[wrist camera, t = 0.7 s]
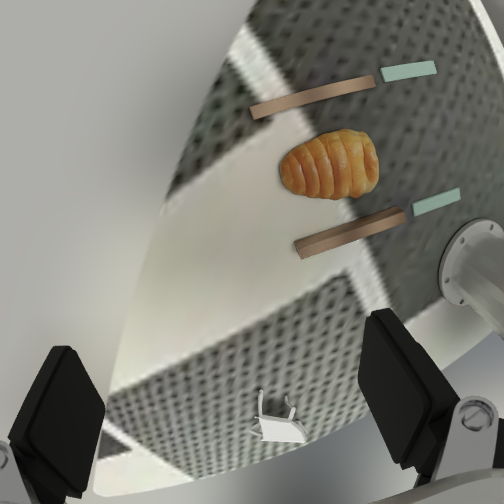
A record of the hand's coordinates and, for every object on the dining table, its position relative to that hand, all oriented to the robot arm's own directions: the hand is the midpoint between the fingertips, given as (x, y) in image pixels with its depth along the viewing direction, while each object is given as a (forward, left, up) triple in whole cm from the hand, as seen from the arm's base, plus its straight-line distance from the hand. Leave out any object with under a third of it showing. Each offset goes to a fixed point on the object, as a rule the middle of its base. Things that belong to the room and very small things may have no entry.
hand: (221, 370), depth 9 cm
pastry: (-11, +1, -24) cm, 26 cm away
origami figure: (+4, +32, -24) cm, 40 cm away
